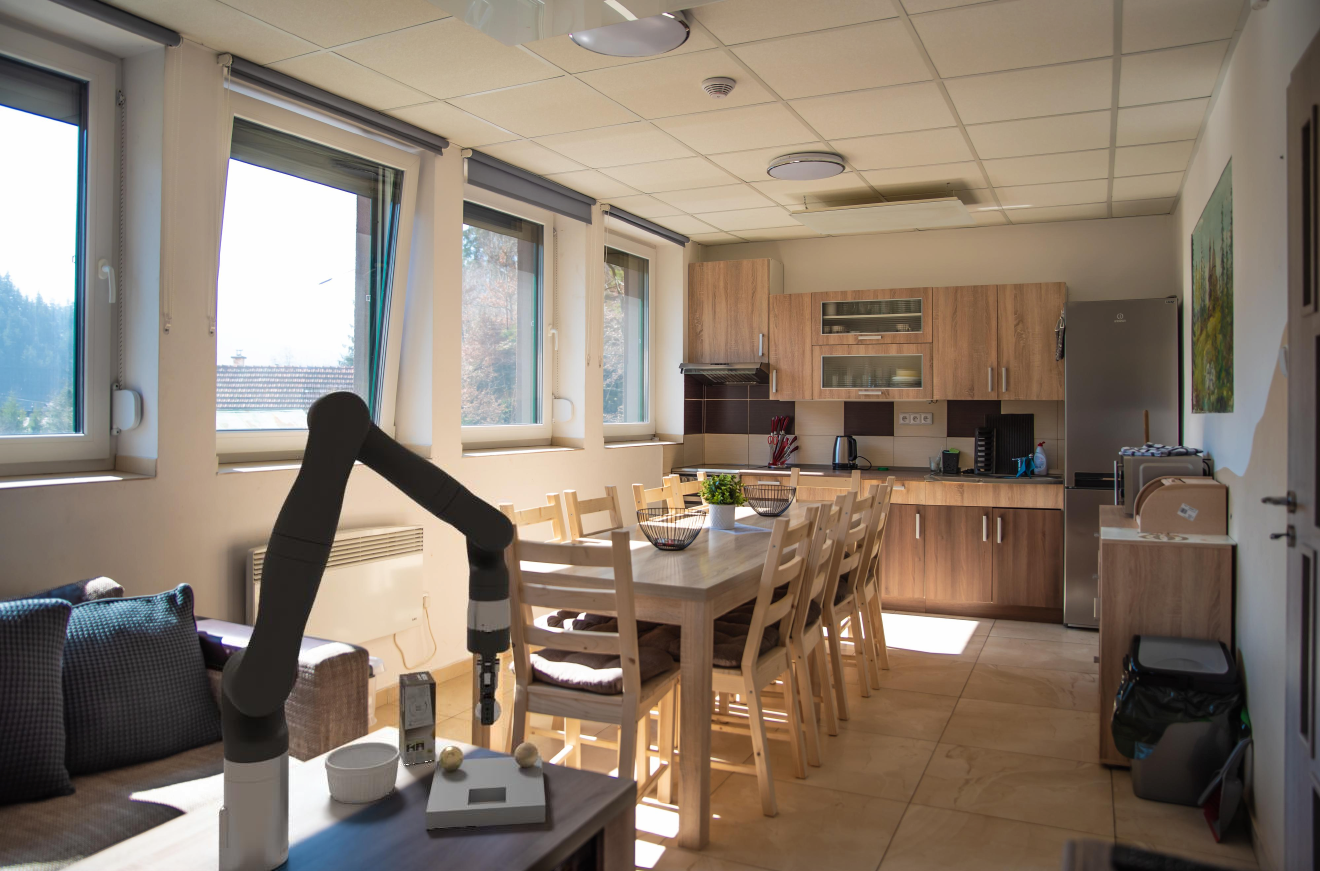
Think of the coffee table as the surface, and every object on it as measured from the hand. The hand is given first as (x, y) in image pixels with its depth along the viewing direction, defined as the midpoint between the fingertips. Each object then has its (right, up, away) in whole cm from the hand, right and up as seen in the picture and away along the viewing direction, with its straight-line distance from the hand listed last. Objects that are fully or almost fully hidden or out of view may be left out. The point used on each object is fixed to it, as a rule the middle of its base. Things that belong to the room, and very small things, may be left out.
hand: (487, 719), depth 153 cm
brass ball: (-9, -11, +11) cm, 18 cm away
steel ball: (0, +1, 0) cm, 1 cm away
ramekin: (-25, -16, +8) cm, 31 cm away
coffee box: (-20, -16, +25) cm, 36 cm away
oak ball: (+5, -11, +13) cm, 18 cm away
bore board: (-1, -17, +6) cm, 18 cm away
